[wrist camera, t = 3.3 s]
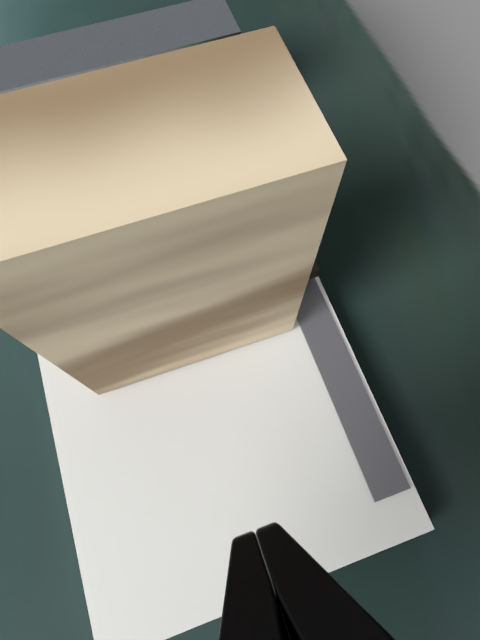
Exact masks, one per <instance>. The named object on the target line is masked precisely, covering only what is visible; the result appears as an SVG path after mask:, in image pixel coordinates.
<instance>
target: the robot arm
mask: <svg viewBox="0 0 480 640" xmlns="http://www.w3.org/2000/svg"><path fill="white" fill-rule="evenodd" d="M256 536H257V537H256ZM257 539H258V540H257ZM258 542H259V543H258ZM259 545H260V546H259ZM260 548H261V549H260ZM261 551H262V552H261ZM262 554H263V555H262ZM263 557H264V558H263ZM264 560H265V561H264ZM265 563H266V564H265ZM266 566H267V567H266ZM267 569H268V570H267ZM280 609H281V610H280ZM281 612H282V613H281ZM282 615H283V616H282ZM283 618H284V619H283ZM284 621H285V622H284ZM285 624H286V625H285ZM286 627H287V628H286ZM287 630H288V631H287ZM288 633H289V634H288ZM289 636H290V637H289ZM290 639H291V640H395V639H394V638H393V637H392V636H391V635H390V634H389V633H388V632H387V631H386V630H385V629H384V628H383V627H382V626H381V625H380V624H379V623H378V622H377V621H376V620H375V619H374V618H373V617H372V616H371V615H370V614H369V613H368V612H367V611H366V610H365V609H364V608H363V607H362V606H361V605H360V604H359V603H358V602H357V601H356V600H355V599H354V598H353V597H352V596H351V595H350V594H349V593H348V592H347V591H346V590H345V589H344V588H343V587H342V586H341V585H340V584H339V583H338V582H337V581H336V580H335V579H334V578H333V577H332V576H331V575H330V574H329V573H328V572H327V571H326V570H325V569H324V568H323V567H322V566H321V565H320V564H319V563H318V562H317V561H316V560H315V559H314V558H313V557H312V556H311V555H310V554H309V553H308V552H307V551H306V550H305V549H304V548H303V547H302V546H301V545H300V544H299V543H298V542H297V541H296V540H295V539H294V538H293V537H292V536H291V535H290V534H289V533H288V532H287V531H286V530H285V529H284V528H283V527H282V526H281V525H280V524H278V523H276V522H273V523H270V524H268V525H265V526H262V527H260V528H258V529H257V530H256V534H255V533H254V532H253V531H249V532H247V533H244V534H242V535H239V536H237V537H235V538H234V539H233V540H232V544H231V551H230V558H229V566H228V573H227V581H226V588H225V596H224V603H223V611H222V618H221V626H220V633H219V640H290Z"/></svg>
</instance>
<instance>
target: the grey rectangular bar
mask: <svg viewBox="0 0 480 640" xmlns="http://www.w3.org/2000/svg"><path fill="white" fill-rule="evenodd" d="M239 34H241V31H240V29H239V27H238V25H237V23H236V21H235V19H234V17H233V15H232V13H231V11H230V9H229V7H228V5H227V3H226V1H225V0H193V1H189V2H185V3H180V4H176V5H172V6H168V7H164V8H159V9H155V10H151V11H147V12H143V13H138V14H134V15H130V16H126V17H122V18H117V19H113V20H109V21H105V22H100V23H96V24H92V25H88V26H84V27H79V28H75V29H71V30H67V31H63V32H58V33H54V34H50V35H46V36H41V37H37V38H33V39H29V40H25V41H20V42H16V43H12V44H8V45H4V46H0V94H3V93H7V92H11V91H15V90H19V89H23V88H27V87H31V86H35V85H39V84H43V83H47V82H51V81H55V80H59V79H63V78H67V77H71V76H75V75H79V74H83V73H87V72H91V71H95V70H99V69H103V68H107V67H111V66H115V65H119V64H123V63H127V62H131V61H135V60H139V59H143V58H147V57H151V56H155V55H159V54H163V53H167V52H171V51H175V50H179V49H183V48H187V47H191V46H195V45H199V44H203V43H207V42H211V41H215V40H219V39H223V38H227V37H231V36H235V35H239Z"/></svg>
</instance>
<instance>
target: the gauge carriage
mask: <svg viewBox="0 0 480 640" xmlns="http://www.w3.org/2000/svg"><path fill="white" fill-rule="evenodd" d="M346 162H347V159H346V157H345V155H344V153H343V151H342V149H341V148H340V146H339V144H338V142H337V140H336V138H335V137H334V135H333V133H332V131H331V129H330V127H329V125H328V124H327V122H326V120H325V118H324V116H323V114H322V112H321V111H320V109H319V107H318V105H317V103H316V101H315V100H314V98H313V96H312V94H311V92H310V90H309V88H308V87H307V85H306V83H305V81H304V79H303V77H302V75H301V74H300V72H299V70H298V68H297V66H296V64H295V63H294V61H293V59H292V57H291V55H290V53H289V51H288V50H287V48H286V46H285V44H284V42H283V40H282V38H281V37H280V35H279V33H278V31H277V29H276V27H275V26H271V27H267V28H263V29H259V30H255V31H251V32H247V33H243V34H239V35H235V36H231V37H227V38H223V39H219V40H215V41H211V42H207V43H203V44H199V45H195V46H191V47H187V48H183V49H179V50H175V51H171V52H167V53H163V54H159V55H155V56H151V57H147V58H143V59H139V60H135V61H131V62H127V63H123V64H119V65H115V66H111V67H107V68H103V69H99V70H95V71H91V72H87V73H83V74H79V75H75V76H71V77H67V78H63V79H59V80H55V81H51V82H47V83H43V84H39V85H35V86H31V87H27V88H23V89H19V90H15V91H11V92H7V93H3V94H0V328H1V329H2V330H4V331H5V332H7V333H8V334H10V335H11V336H13V337H14V338H16V339H17V340H19V341H20V342H21V343H23V344H24V345H26V346H27V347H29V348H30V349H32V350H33V351H35V352H36V353H38V354H39V355H41V356H42V357H44V358H45V359H46V360H48V361H49V362H51V363H52V364H54V365H55V366H57V367H58V368H60V369H61V370H63V371H64V372H66V373H67V374H69V375H70V376H72V377H73V378H74V379H76V380H77V381H79V382H80V383H82V384H83V385H85V386H86V387H88V388H89V389H91V390H92V391H94V392H95V393H97V394H98V395H101V394H104V393H106V392H109V391H112V390H115V389H118V388H121V387H124V386H127V385H130V384H133V383H136V382H139V381H142V380H145V379H148V378H151V377H154V376H157V375H160V374H163V373H166V372H169V371H172V370H175V369H178V368H181V367H184V366H187V365H190V364H193V363H196V362H199V361H202V360H205V359H208V358H211V357H214V356H217V355H219V354H222V353H225V352H228V351H231V350H234V349H237V348H240V347H243V346H246V345H249V344H252V343H255V342H258V341H261V340H264V339H267V338H270V337H273V336H276V335H279V334H282V333H285V332H288V331H291V330H293V327H294V323H295V320H296V317H297V314H298V311H299V308H300V305H301V302H302V299H303V295H304V292H305V289H306V286H307V283H308V280H309V279H312V278H315V277H318V275H319V272H320V269H319V266H318V264H317V262H316V260H315V258H316V255H317V252H318V249H319V246H320V243H321V239H322V236H323V233H324V230H325V227H326V224H327V221H328V218H329V214H330V211H331V208H332V205H333V202H334V199H335V196H336V193H337V190H338V186H339V183H340V180H341V177H342V174H343V171H344V168H345V165H346Z"/></svg>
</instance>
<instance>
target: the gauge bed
mask: <svg viewBox="0 0 480 640" xmlns="http://www.w3.org/2000/svg"><path fill="white" fill-rule="evenodd" d="M37 354H38V353H37ZM38 359H39V364H40V370H41V375H42V380H43V385H44V390H45V395H46V400H47V405H48V410H49V415H50V420H51V425H52V430H53V435H54V440H55V445H56V450H57V455H58V460H59V465H60V470H61V476H62V481H63V486H64V491H65V496H66V501H67V506H68V511H69V516H70V521H71V526H72V531H73V536H74V541H75V546H76V551H77V556H78V561H79V566H80V571H81V576H82V582H83V587H84V592H85V597H86V602H87V607H88V612H89V617H90V622H91V627H92V632H93V637H94V640H165V639H167V638H170V637H172V636H175V635H177V634H179V633H182V632H184V631H187V630H189V629H192V628H194V627H197V626H199V625H202V624H204V623H206V622H209V621H211V620H214V619H216V618H219V617H221V616H222V611H223V603H224V596H225V588H226V581H227V573H228V566H229V558H230V551H231V544H232V540H233V539H234V538H235V537H237V536H239V535H242V534H244V533H247V532H249V531H253V532H254V533H255V534H256V530H257V529H258V528H260V527H262V526H265V525H268V524H270V523H273V522H276V523H278V524H280V525H281V526H282V527H283V528H284V529H285V530H286V531H287V532H288V533H289V534H290V535H291V536H292V537H293V538H294V539H295V540H296V541H297V542H298V543H299V544H300V545H301V546H302V547H303V548H304V549H305V550H306V551H307V552H308V553H309V554H310V555H311V556H312V557H313V558H314V559H315V560H316V561H317V562H318V563H319V564H320V565H321V566H322V567H323V568H324V569H325V570H326V571H327V572H328V573H329V572H331V571H334V570H336V569H339V568H341V567H344V566H346V565H348V564H351V563H353V562H356V561H358V560H361V559H363V558H366V557H368V556H370V555H373V554H375V553H378V552H380V551H383V550H385V549H388V548H390V547H393V546H395V545H397V544H400V543H402V542H405V541H407V540H410V539H412V538H415V537H417V536H419V535H422V534H424V533H427V532H429V531H432V530H434V527H433V525H432V523H431V521H430V518H429V516H428V514H427V512H426V510H425V508H424V505H423V503H422V501H421V499H420V497H419V494H418V492H417V490H416V488H415V486H414V484H413V481H412V479H411V477H410V475H409V473H408V471H407V468H406V466H405V464H404V462H403V460H402V457H401V455H400V453H399V451H398V449H397V447H396V444H395V442H394V440H393V438H392V436H391V434H390V431H389V429H388V427H387V425H386V423H385V421H384V418H383V416H382V414H381V412H380V410H379V407H378V405H377V403H376V401H375V399H374V397H373V394H372V392H371V390H370V388H369V386H368V384H367V381H366V379H365V377H364V375H363V373H362V370H361V368H360V366H359V364H358V362H357V360H356V357H355V355H354V353H353V351H352V349H351V347H350V344H349V342H348V340H347V338H346V336H345V333H344V331H343V329H342V327H341V325H340V323H339V320H338V318H337V316H336V314H335V312H334V310H333V307H332V305H331V303H330V301H329V299H328V296H327V294H326V292H325V290H324V288H323V286H322V283H321V281H320V279H319V277H315V278H312V279H309V280H308V283H307V286H306V289H305V292H304V295H303V299H302V302H301V305H300V308H299V311H298V314H297V317H296V320H295V323H294V327H293V330H291V331H288V332H285V333H282V334H279V335H276V336H273V337H270V338H267V339H264V340H261V341H258V342H255V343H252V344H249V345H246V346H243V347H240V348H237V349H234V350H231V351H228V352H225V353H222V354H219V355H217V356H214V357H211V358H208V359H205V360H202V361H199V362H196V363H193V364H190V365H187V366H184V367H181V368H178V369H175V370H172V371H169V372H166V373H163V374H160V375H157V376H154V377H151V378H148V379H145V380H142V381H139V382H136V383H133V384H130V385H127V386H124V387H121V388H118V389H115V390H112V391H109V392H106V393H104V394H101V395H98V394H97V393H95V392H94V391H92V390H91V389H89V388H88V387H86V386H85V385H83V384H82V383H80V382H79V381H77V380H76V379H74V378H73V377H72V376H70V375H69V374H67V373H66V372H64V371H63V370H61V369H60V368H58V367H57V366H55V365H54V364H52V363H51V362H49V361H48V360H46V359H45V358H44V357H42V356H41V355H39V354H38ZM256 537H257V536H256ZM257 540H258V539H257ZM258 543H259V542H258ZM259 546H260V545H259ZM260 549H261V548H260ZM261 552H262V551H261ZM262 555H263V554H262ZM263 558H264V557H263ZM264 561H265V560H264ZM265 564H266V563H265ZM266 567H267V566H266ZM267 570H268V569H267Z"/></svg>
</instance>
